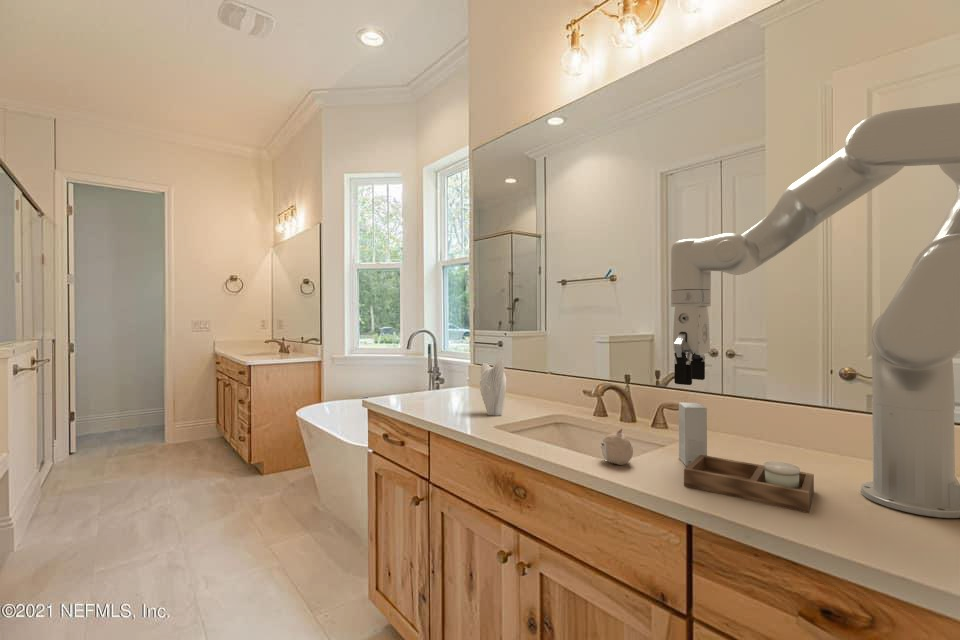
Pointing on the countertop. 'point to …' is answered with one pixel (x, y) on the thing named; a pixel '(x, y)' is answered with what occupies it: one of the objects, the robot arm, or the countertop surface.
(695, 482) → the walnut caddy
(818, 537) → the countertop surface
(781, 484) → the cream jar
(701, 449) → the skincare box
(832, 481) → the countertop surface
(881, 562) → the countertop surface
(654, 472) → the countertop surface
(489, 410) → the shell sculpture
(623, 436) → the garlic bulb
